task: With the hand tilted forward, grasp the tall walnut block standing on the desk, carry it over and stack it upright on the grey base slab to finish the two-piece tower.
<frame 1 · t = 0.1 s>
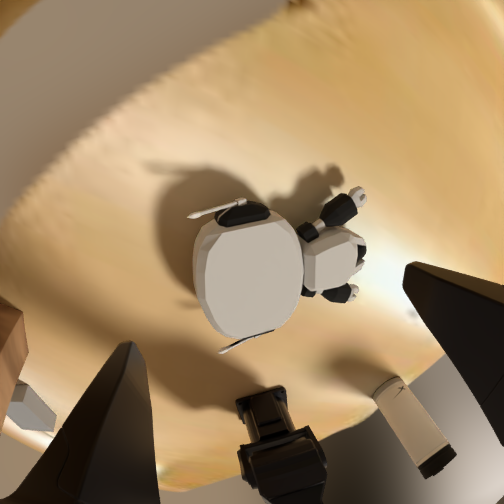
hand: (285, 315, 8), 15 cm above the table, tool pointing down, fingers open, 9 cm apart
robot toy: (277, 252, 25), on the table
base slab: (26, 400, 25), on the table
travel mug: (386, 387, 42), on the table
walnut block: (4, 325, 20), on the table
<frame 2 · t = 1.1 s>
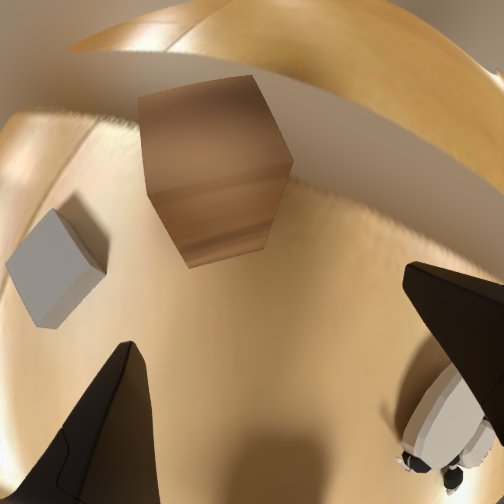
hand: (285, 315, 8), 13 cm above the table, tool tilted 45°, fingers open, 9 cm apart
robot toy: (446, 425, 19), on the table
base slab: (60, 273, 21), on the table
walnut block: (216, 224, 23), on the table
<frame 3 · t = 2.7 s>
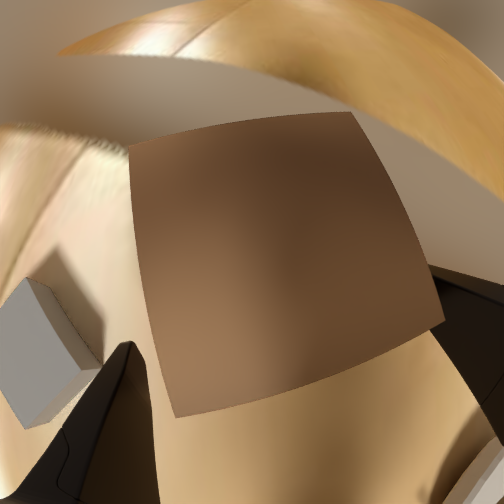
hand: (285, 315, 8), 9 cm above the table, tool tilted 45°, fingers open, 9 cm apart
robot toy: (474, 489, 12), on the table
base slab: (45, 356, 15), on the table
walnut block: (249, 308, 17), on the table
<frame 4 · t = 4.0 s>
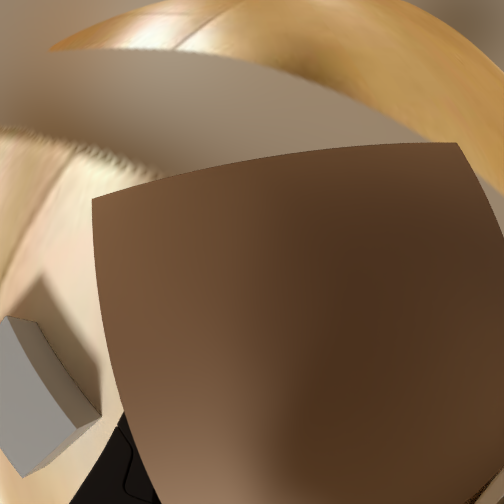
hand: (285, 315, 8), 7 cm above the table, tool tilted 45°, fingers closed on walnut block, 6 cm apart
base slab: (36, 398, 12), on the table
walnut block: (268, 353, 14), on the table, touching gripper
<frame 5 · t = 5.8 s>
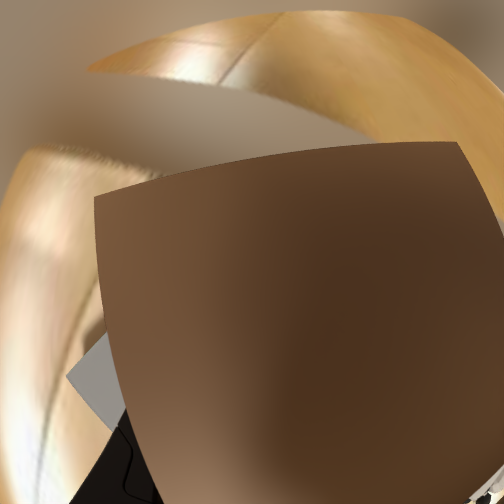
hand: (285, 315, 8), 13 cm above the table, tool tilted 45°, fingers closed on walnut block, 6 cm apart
robot toy: (479, 462, 17), on the table
base slab: (137, 380, 19), on the table
walnut block: (269, 352, 14), point 7 cm above the table, touching gripper
when the fingers open (10 cm above the table, at t = 7.6 s): walnut block stays where it is, resting on base slab.
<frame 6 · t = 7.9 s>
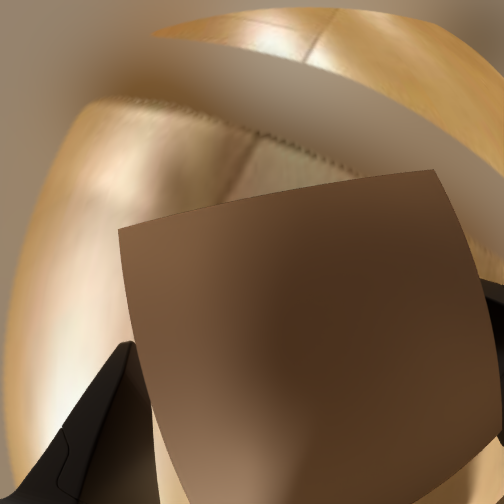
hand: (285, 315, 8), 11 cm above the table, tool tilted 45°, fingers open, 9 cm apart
walnut block: (266, 352, 15), point 3 cm above the table, touching base slab
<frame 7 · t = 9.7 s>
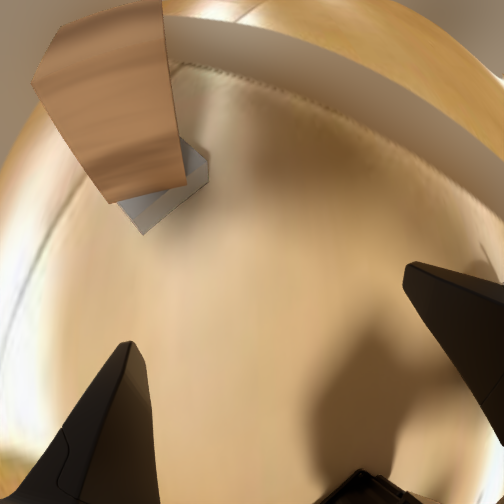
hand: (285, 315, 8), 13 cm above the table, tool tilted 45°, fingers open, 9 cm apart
base slab: (151, 181, 23), on the table
walnut block: (144, 161, 20), point 3 cm above the table, touching base slab
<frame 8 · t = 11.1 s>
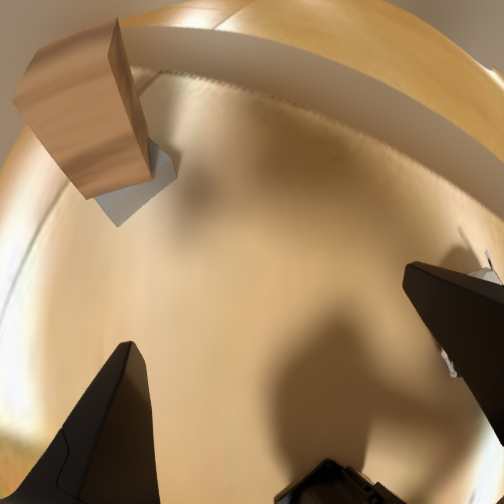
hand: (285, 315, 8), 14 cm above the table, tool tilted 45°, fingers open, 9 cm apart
robot toy: (473, 342, 22), on the table
base slab: (127, 179, 24), on the table
walnut block: (117, 161, 22), point 3 cm above the table, touching base slab
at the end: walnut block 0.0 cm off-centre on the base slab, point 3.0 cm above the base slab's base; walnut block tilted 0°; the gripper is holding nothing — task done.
